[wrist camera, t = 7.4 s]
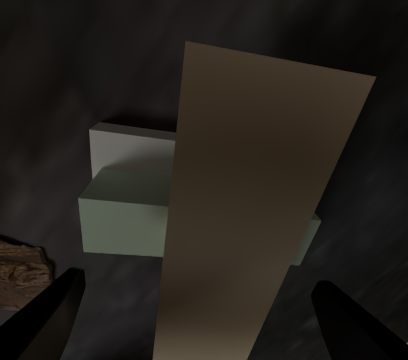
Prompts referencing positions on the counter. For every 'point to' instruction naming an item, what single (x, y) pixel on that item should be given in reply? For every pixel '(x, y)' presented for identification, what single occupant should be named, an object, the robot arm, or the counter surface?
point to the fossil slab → (22, 274)
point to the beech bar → (244, 191)
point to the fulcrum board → (131, 148)
